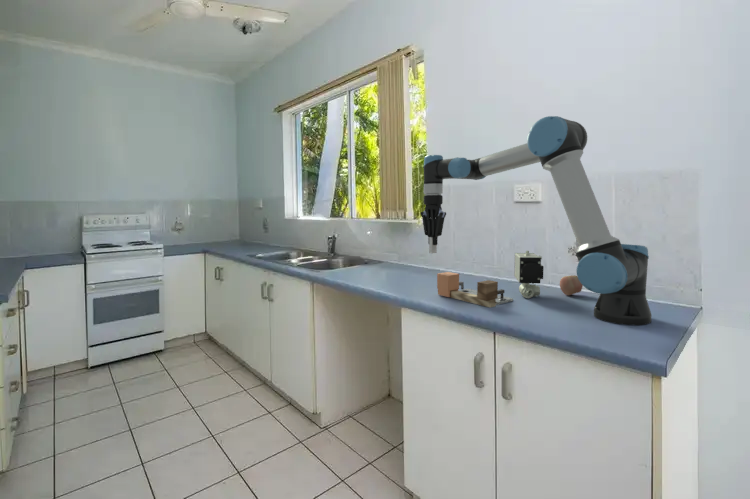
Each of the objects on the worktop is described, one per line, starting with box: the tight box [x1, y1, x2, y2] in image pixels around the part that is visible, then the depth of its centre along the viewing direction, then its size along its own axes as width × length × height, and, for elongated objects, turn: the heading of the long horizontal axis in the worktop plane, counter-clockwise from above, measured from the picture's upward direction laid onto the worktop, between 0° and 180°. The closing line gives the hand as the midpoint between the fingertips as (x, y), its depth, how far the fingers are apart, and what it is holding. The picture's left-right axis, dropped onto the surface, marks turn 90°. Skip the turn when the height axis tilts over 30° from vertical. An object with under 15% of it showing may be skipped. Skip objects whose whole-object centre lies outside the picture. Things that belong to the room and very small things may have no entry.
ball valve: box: [513, 250, 544, 299], centre depth 152 cm, size 18×8×18 cm, turn 168°
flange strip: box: [458, 288, 514, 306], centre depth 153 cm, size 22×9×1 cm, turn 34°
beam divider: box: [449, 279, 505, 308], centre depth 150 cm, size 25×12×8 cm, turn 34°
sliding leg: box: [436, 271, 465, 298], centre depth 158 cm, size 6×12×8 cm, turn 124°
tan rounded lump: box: [559, 274, 584, 297], centre depth 153 cm, size 8×8×8 cm
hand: (432, 252), depth 162 cm, fingers closed
